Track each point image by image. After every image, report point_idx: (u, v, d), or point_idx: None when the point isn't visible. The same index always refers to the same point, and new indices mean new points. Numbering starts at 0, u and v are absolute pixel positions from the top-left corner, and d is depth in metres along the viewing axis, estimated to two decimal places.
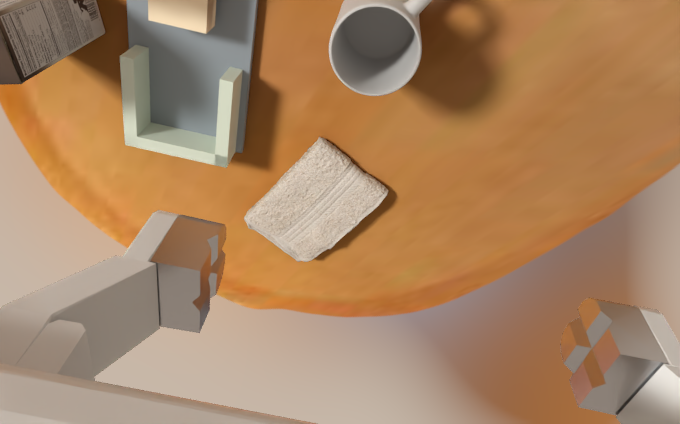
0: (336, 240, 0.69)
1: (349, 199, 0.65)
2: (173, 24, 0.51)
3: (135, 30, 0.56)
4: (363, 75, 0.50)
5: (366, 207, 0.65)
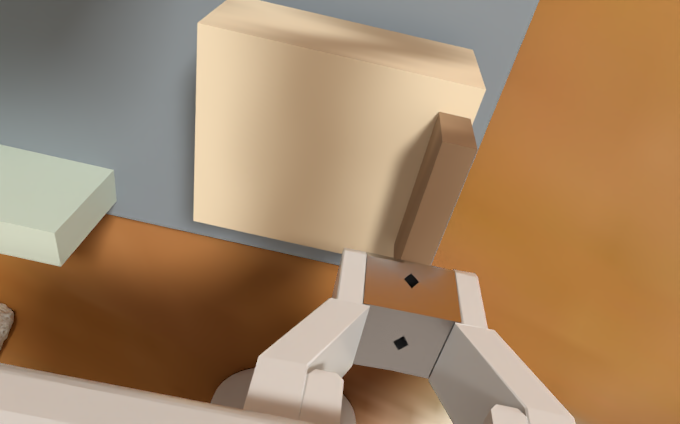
0: None
1: None
2: (201, 122, 0.13)
3: None
4: None
5: None
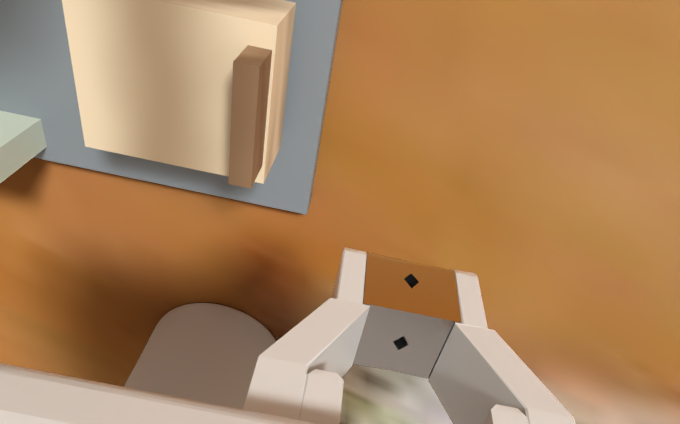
0: None
1: None
2: (76, 61, 0.17)
3: None
4: None
5: None
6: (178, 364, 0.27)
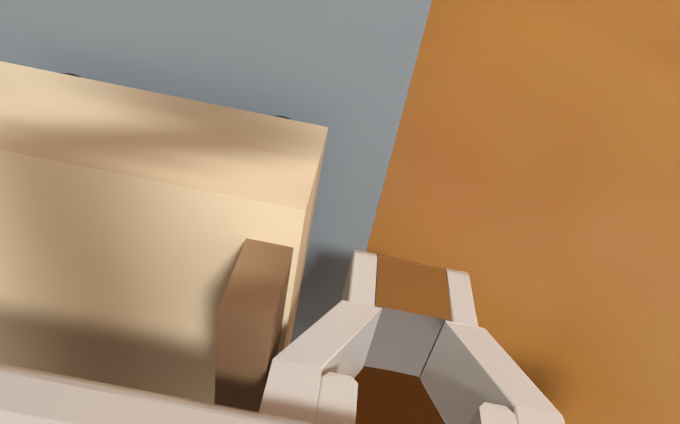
0: None
1: None
2: None
3: None
4: None
5: None
6: None
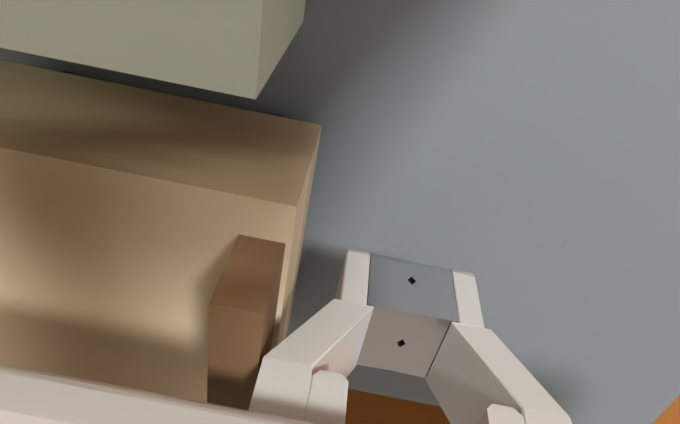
0: None
1: None
2: None
3: None
4: None
5: None
6: None
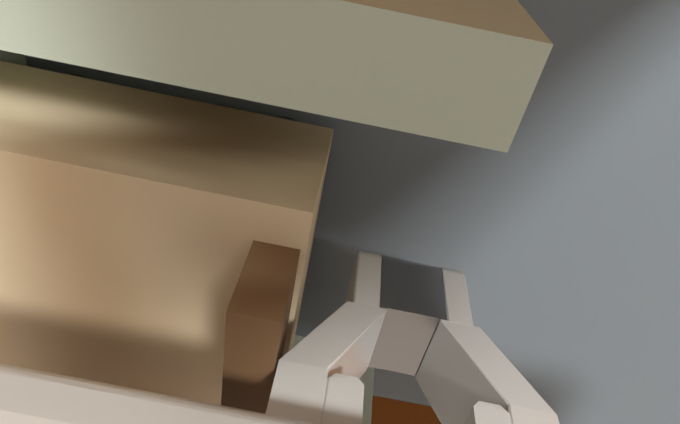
0: None
1: None
2: None
3: None
4: None
5: None
6: None
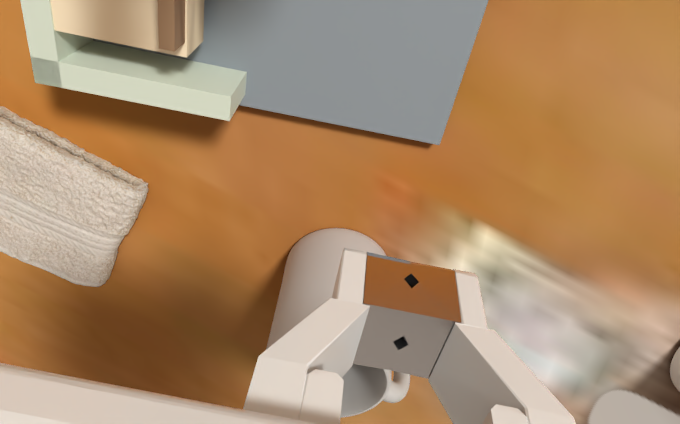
0: None
1: (62, 246, 0.39)
2: None
3: None
4: None
5: (62, 270, 0.40)
6: (332, 267, 0.35)
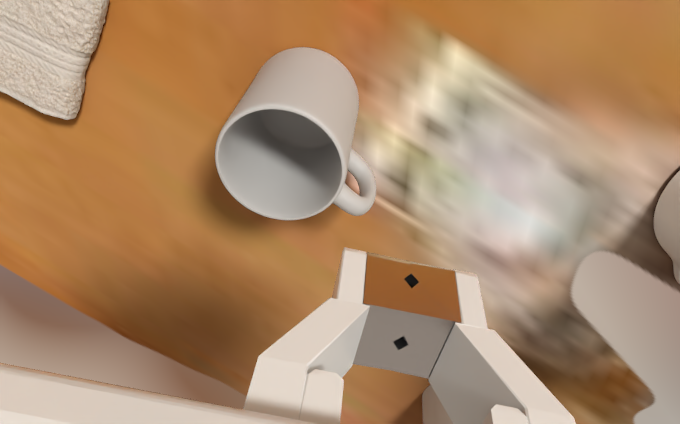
0: None
1: (27, 66, 0.39)
2: None
3: None
4: (238, 122, 0.34)
5: (29, 95, 0.40)
6: (292, 67, 0.34)
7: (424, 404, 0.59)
